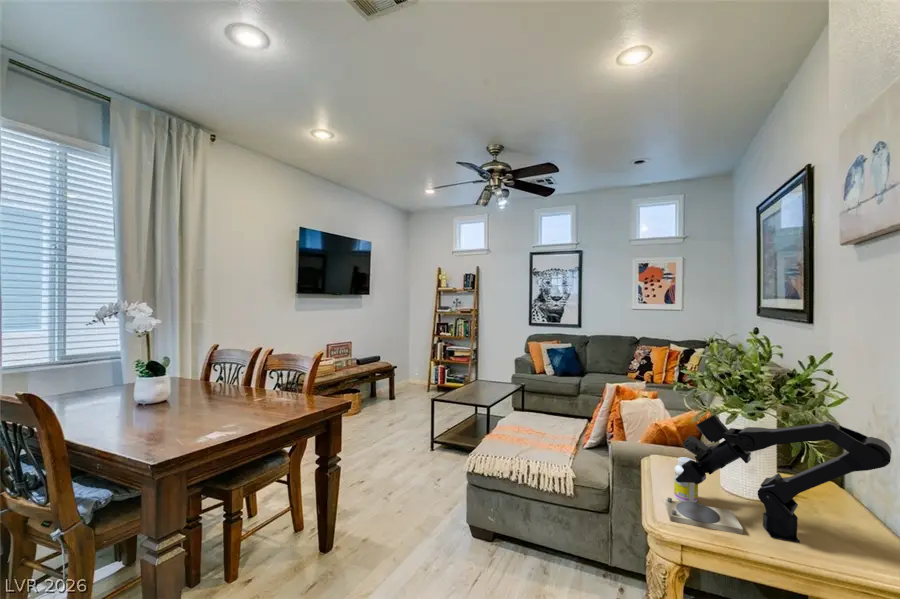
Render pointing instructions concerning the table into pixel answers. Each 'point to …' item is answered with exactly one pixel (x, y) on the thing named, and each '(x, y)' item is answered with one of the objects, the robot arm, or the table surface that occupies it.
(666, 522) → the table surface
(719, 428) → the robot arm
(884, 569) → the table surface
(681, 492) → the supplement bottle
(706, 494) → the table surface
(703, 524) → the jig board
